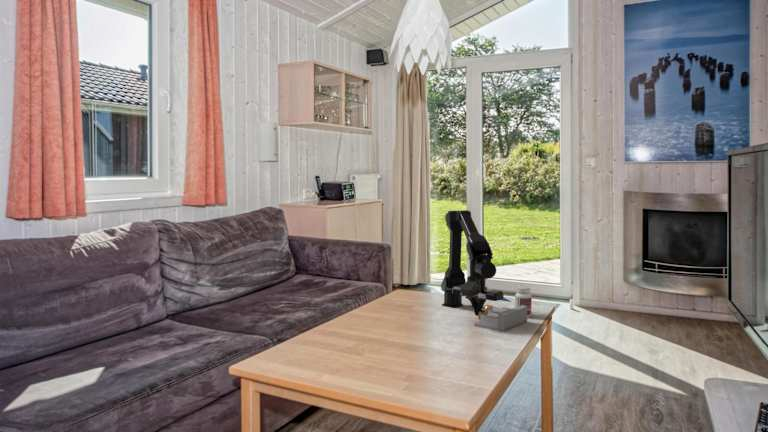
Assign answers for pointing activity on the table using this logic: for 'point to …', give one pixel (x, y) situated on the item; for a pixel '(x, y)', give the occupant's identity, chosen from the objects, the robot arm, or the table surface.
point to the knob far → (494, 308)
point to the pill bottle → (523, 298)
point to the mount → (504, 319)
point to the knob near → (487, 314)
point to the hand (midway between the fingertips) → (477, 315)
